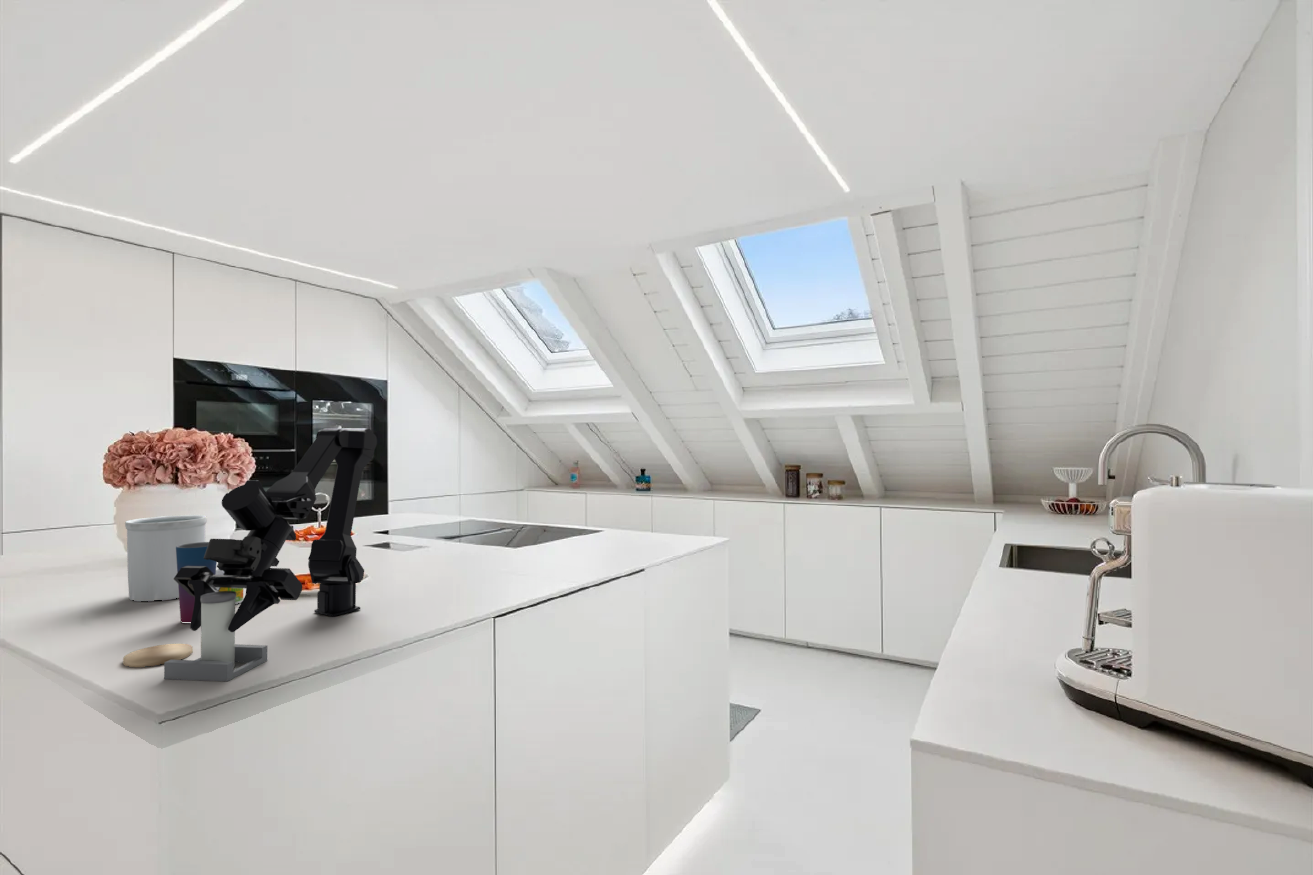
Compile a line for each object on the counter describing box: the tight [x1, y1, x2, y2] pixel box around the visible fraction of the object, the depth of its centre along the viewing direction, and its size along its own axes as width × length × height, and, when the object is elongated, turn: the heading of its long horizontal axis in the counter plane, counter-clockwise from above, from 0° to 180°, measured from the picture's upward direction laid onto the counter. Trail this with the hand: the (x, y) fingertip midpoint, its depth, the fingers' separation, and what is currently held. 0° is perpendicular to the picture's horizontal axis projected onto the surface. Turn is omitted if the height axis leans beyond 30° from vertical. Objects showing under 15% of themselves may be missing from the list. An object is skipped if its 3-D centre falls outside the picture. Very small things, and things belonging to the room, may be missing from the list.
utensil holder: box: [124, 514, 208, 602], centre depth 144 cm, size 15×15×18 cm
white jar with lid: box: [200, 591, 236, 669], centre depth 99 cm, size 5×5×12 cm
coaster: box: [122, 643, 193, 668], centre depth 104 cm, size 9×9×1 cm
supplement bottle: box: [216, 568, 244, 605], centre depth 138 cm, size 5×5×10 cm
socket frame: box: [163, 643, 268, 682], centre depth 99 cm, size 9×10×2 cm
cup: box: [176, 541, 218, 622], centre depth 125 cm, size 7×7×15 cm
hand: (211, 630), depth 98 cm, fingers open, 6 cm apart
